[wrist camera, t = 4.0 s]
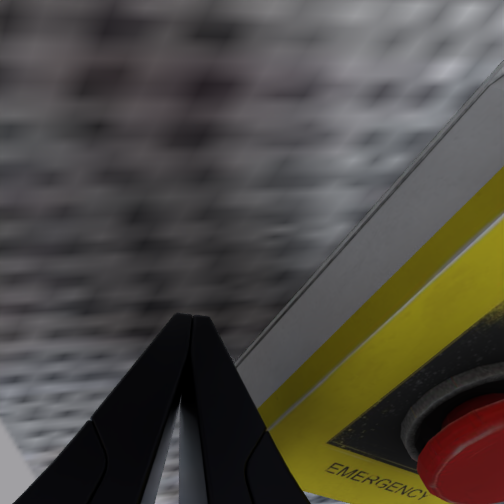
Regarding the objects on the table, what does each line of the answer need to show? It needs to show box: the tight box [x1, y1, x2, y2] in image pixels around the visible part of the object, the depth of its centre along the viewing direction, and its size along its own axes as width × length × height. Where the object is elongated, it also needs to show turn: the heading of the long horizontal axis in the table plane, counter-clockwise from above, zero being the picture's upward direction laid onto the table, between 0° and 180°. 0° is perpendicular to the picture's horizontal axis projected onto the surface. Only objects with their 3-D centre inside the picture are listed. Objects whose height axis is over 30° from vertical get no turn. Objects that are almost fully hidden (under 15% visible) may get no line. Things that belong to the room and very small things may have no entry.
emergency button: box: [234, 60, 504, 504], centre depth 9 cm, size 9×4×15 cm
